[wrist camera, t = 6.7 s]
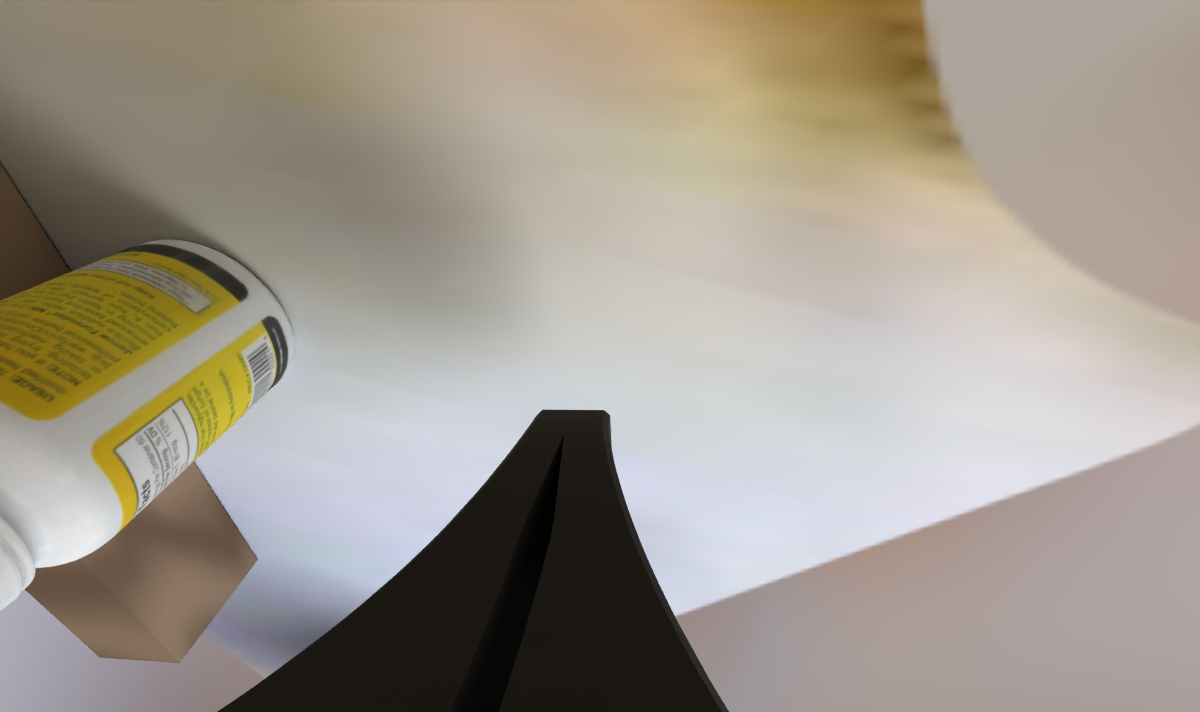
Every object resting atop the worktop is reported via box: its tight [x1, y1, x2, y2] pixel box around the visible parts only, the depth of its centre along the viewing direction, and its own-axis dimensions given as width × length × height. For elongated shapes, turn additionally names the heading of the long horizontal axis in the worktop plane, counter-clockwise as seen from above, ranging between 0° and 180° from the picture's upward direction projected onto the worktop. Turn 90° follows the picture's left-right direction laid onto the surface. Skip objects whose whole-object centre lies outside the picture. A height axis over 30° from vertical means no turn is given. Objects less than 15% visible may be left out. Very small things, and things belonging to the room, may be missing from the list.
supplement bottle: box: [0, 239, 294, 611], centre depth 10 cm, size 5×5×8 cm
